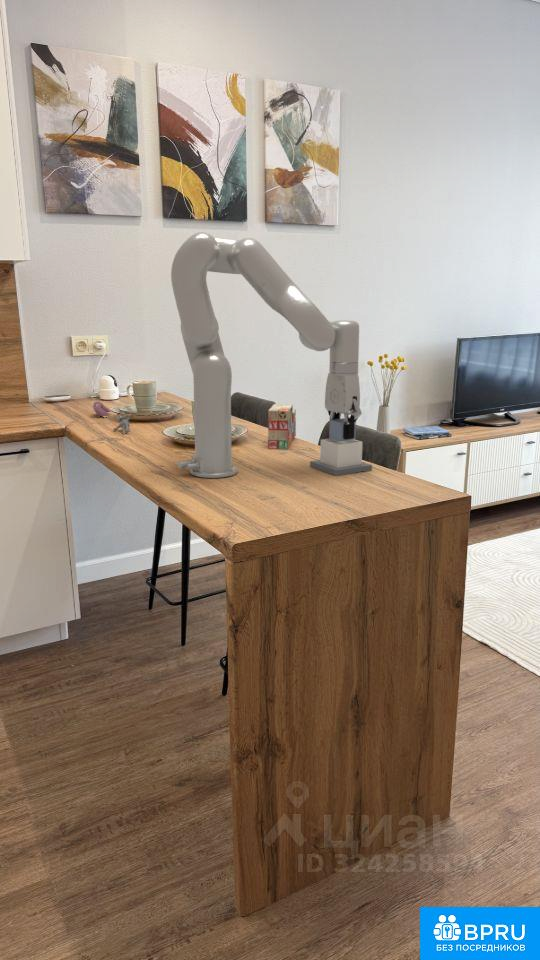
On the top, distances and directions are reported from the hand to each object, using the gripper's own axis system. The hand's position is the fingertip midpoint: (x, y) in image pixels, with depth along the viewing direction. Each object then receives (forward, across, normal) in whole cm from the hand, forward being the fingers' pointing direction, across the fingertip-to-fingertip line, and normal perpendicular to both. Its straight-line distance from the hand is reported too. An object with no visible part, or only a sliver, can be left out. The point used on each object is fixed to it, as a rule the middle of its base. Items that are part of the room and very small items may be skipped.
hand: (342, 436), depth 188 cm
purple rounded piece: (+9, -115, -30) cm, 119 cm away
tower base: (+9, 0, 0) cm, 9 cm away
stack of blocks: (+9, -38, +5) cm, 39 cm away
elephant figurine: (+9, -79, -33) cm, 86 cm away
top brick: (+1, 0, 0) cm, 1 cm away
